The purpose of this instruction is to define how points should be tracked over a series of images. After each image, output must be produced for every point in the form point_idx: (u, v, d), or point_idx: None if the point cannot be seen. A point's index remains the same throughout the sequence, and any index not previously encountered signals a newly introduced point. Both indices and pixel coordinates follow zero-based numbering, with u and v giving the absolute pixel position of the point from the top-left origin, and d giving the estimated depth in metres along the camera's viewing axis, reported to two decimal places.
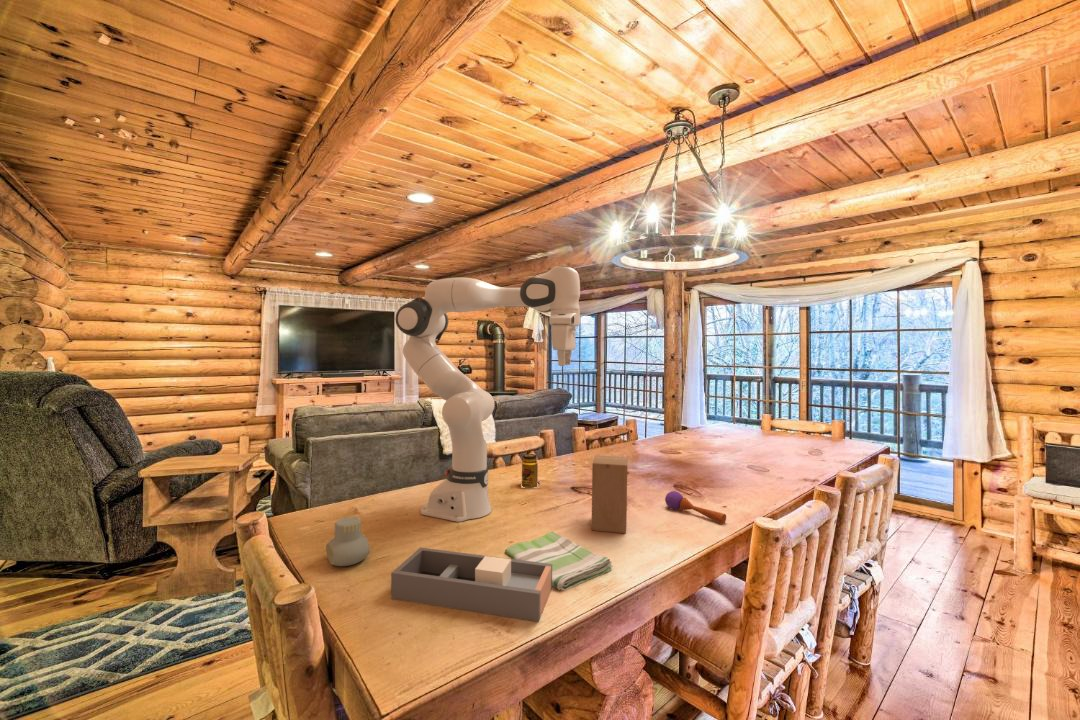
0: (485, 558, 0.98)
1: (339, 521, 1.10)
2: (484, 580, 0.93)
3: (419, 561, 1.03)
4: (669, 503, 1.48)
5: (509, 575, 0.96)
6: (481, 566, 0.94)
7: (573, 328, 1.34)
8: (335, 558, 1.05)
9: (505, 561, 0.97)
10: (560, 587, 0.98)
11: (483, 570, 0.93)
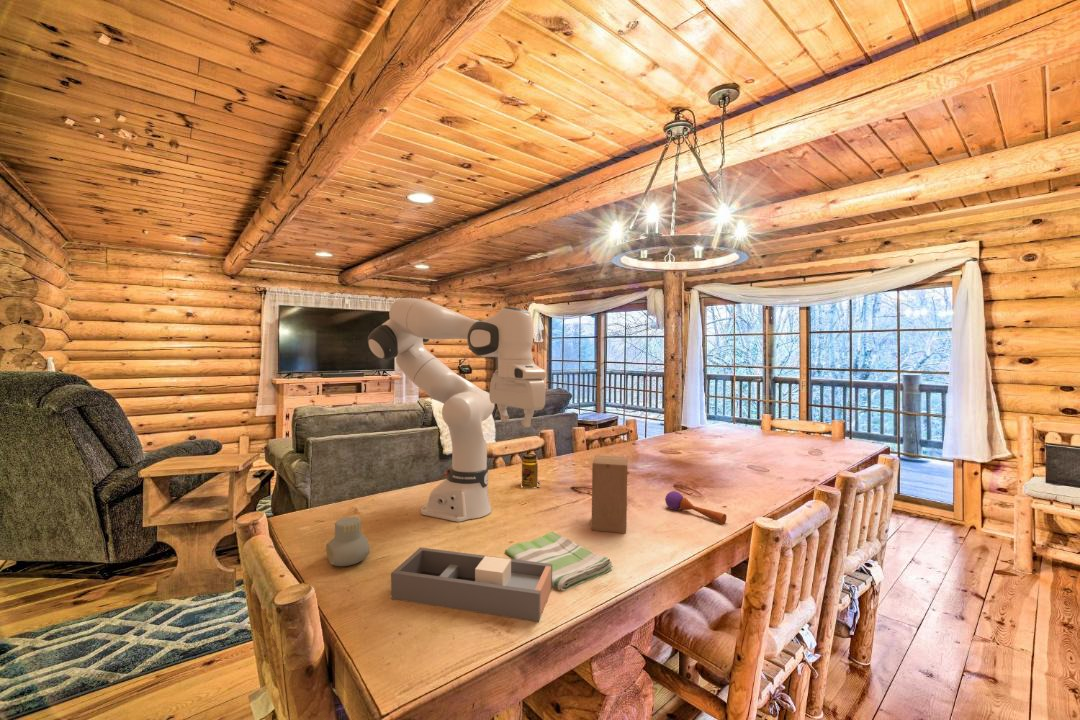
0: (485, 558, 0.98)
1: (339, 521, 1.10)
2: (484, 580, 0.93)
3: (419, 561, 1.03)
4: (669, 503, 1.48)
5: (509, 575, 0.96)
6: (481, 566, 0.94)
7: None
8: (335, 558, 1.05)
9: (505, 561, 0.97)
10: (560, 587, 0.98)
11: (483, 570, 0.93)
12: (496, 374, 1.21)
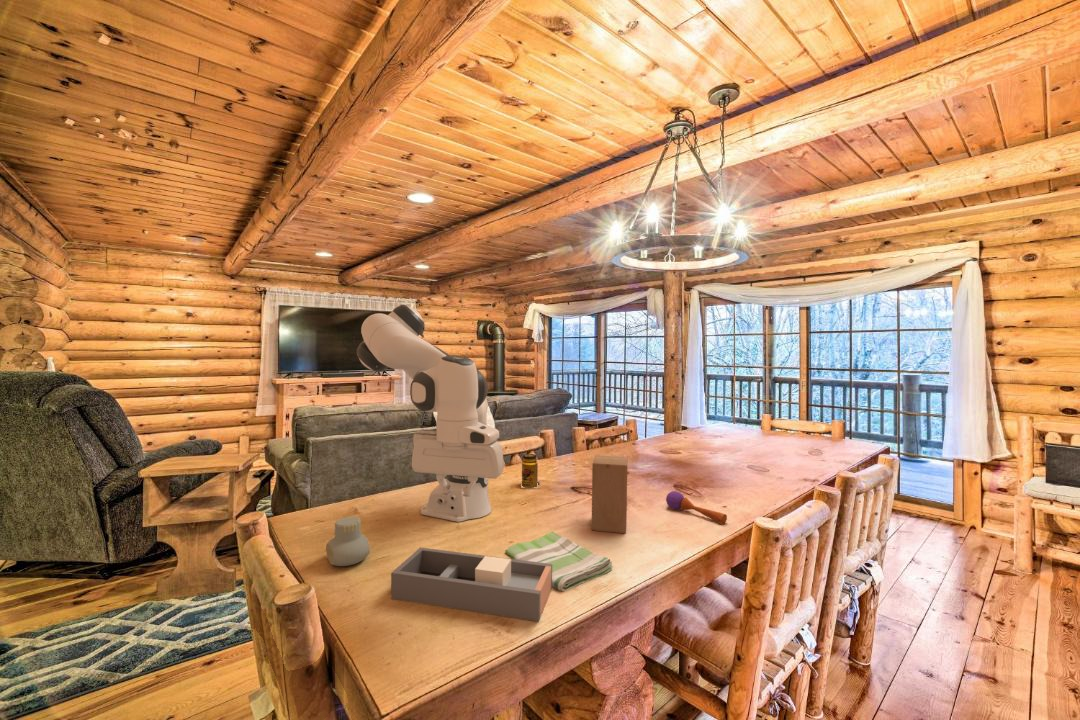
0: (485, 558, 0.98)
1: (339, 521, 1.10)
2: (484, 580, 0.93)
3: (419, 561, 1.03)
4: (670, 503, 1.48)
5: (509, 575, 0.96)
6: (481, 566, 0.94)
7: None
8: (335, 558, 1.05)
9: (505, 561, 0.97)
10: (561, 588, 0.98)
11: (483, 570, 0.93)
12: (420, 436, 0.98)
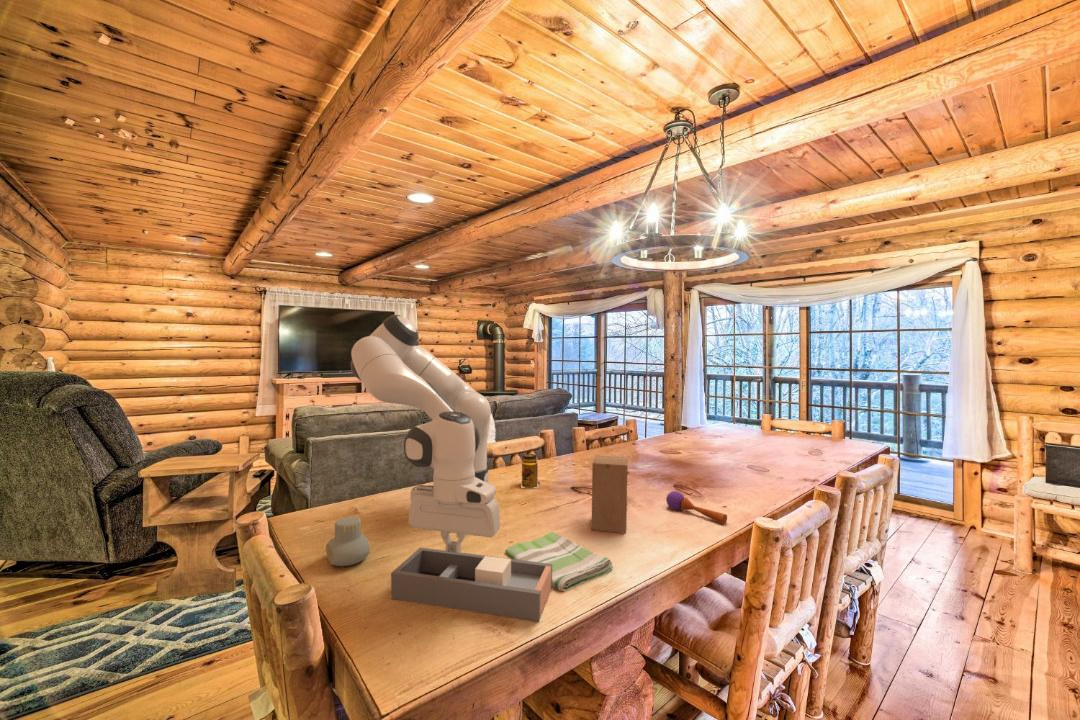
0: (485, 558, 0.98)
1: (339, 521, 1.10)
2: (484, 580, 0.93)
3: (419, 561, 1.03)
4: (670, 503, 1.48)
5: (509, 575, 0.96)
6: (481, 566, 0.94)
7: None
8: (335, 558, 1.05)
9: (505, 561, 0.97)
10: (561, 588, 0.98)
11: (483, 570, 0.93)
12: (418, 491, 0.98)
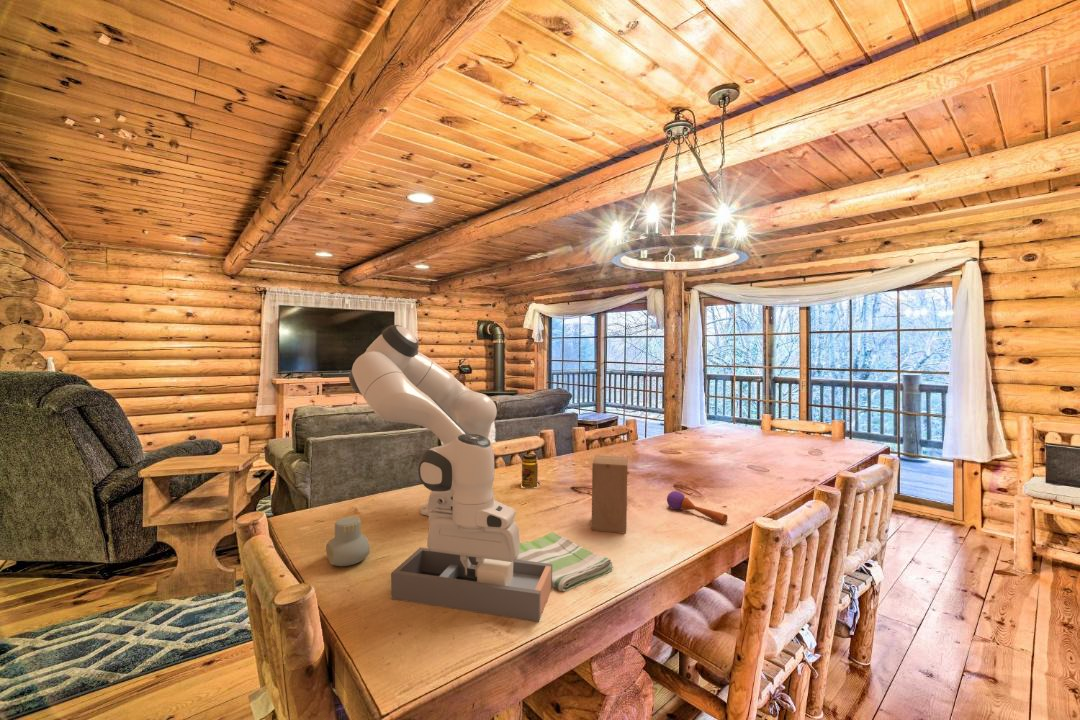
0: (487, 559, 0.97)
1: (339, 520, 1.10)
2: (486, 581, 0.92)
3: (419, 561, 1.03)
4: (670, 503, 1.48)
5: (511, 575, 0.96)
6: (483, 566, 0.94)
7: None
8: (335, 558, 1.05)
9: None
10: (561, 588, 0.98)
11: (485, 570, 0.92)
12: (436, 514, 0.97)
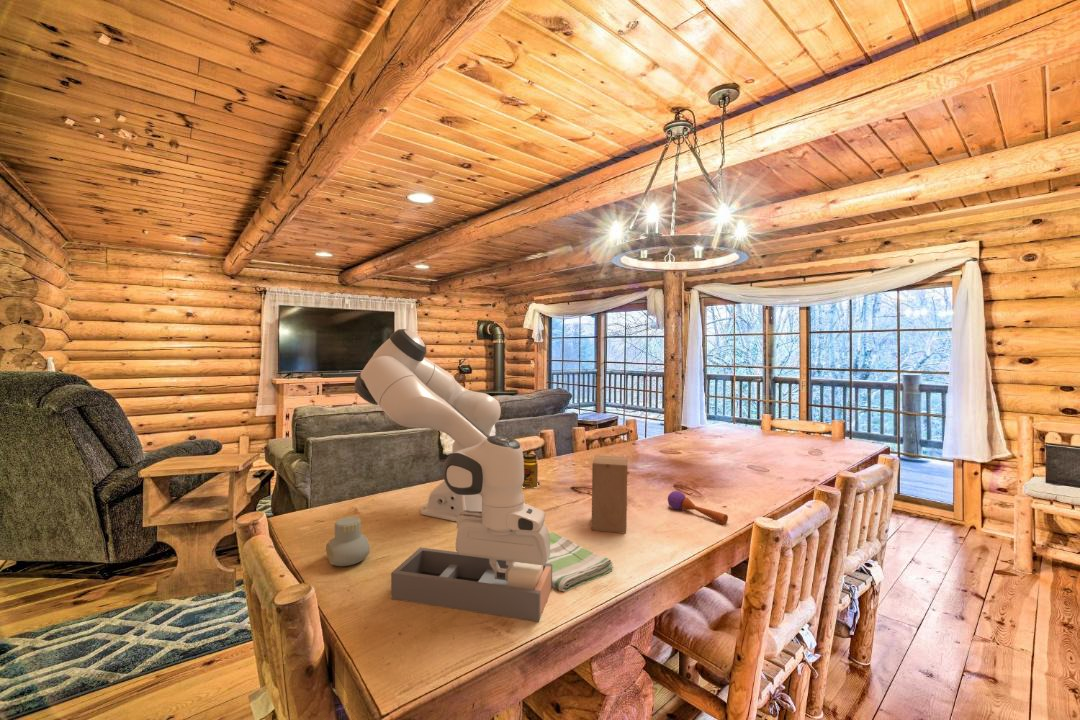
0: (516, 562, 0.96)
1: (339, 520, 1.10)
2: (517, 585, 0.91)
3: (419, 561, 1.03)
4: (671, 502, 1.48)
5: None
6: (513, 570, 0.93)
7: None
8: (335, 558, 1.05)
9: (537, 565, 0.95)
10: (561, 588, 0.97)
11: (516, 574, 0.91)
12: (464, 517, 0.96)
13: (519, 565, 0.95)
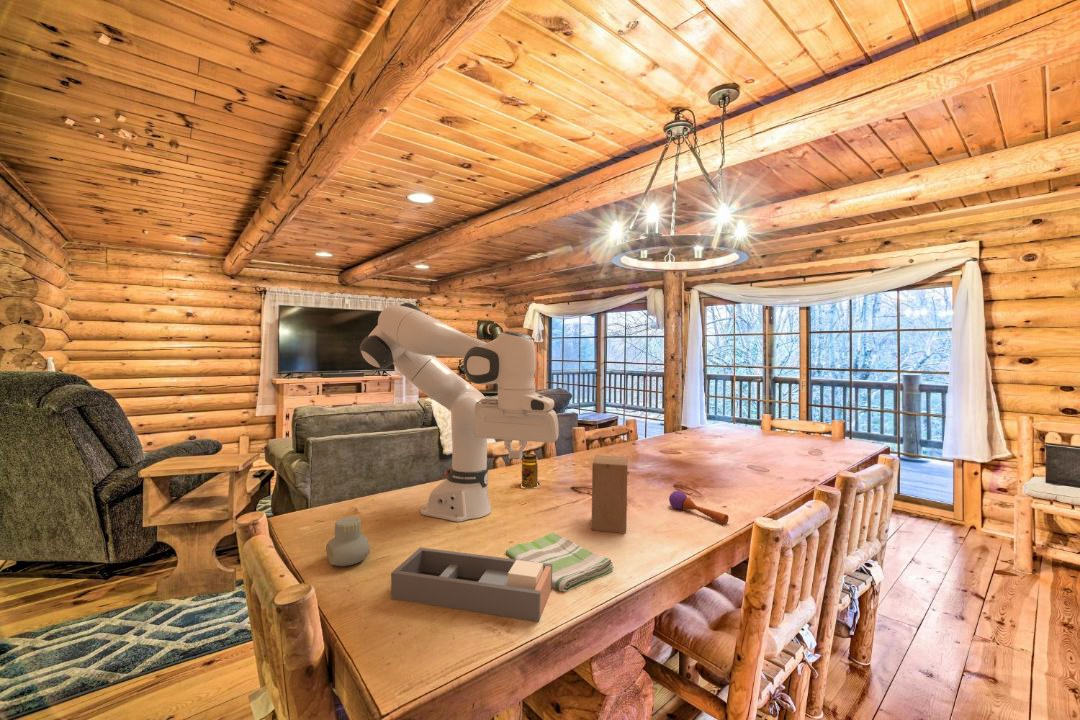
0: (517, 562, 0.96)
1: (339, 521, 1.10)
2: (517, 585, 0.91)
3: (419, 561, 1.03)
4: (672, 502, 1.48)
5: None
6: (513, 570, 0.93)
7: None
8: (335, 558, 1.05)
9: (538, 565, 0.95)
10: (562, 588, 0.97)
11: (516, 574, 0.91)
12: (482, 405, 1.07)
13: (519, 565, 0.95)
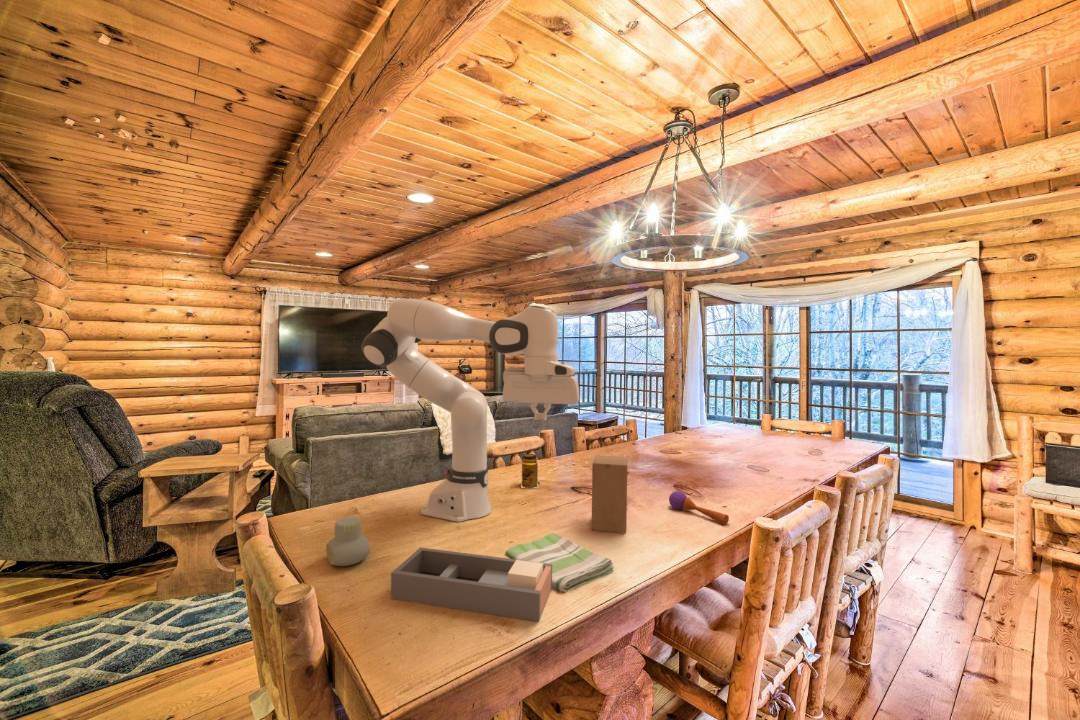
0: (517, 562, 0.96)
1: (339, 520, 1.10)
2: (517, 585, 0.91)
3: (419, 561, 1.03)
4: (672, 502, 1.48)
5: None
6: (513, 570, 0.93)
7: None
8: (335, 558, 1.05)
9: (538, 565, 0.95)
10: (562, 588, 0.97)
11: (516, 574, 0.91)
12: (509, 372, 1.19)
13: (519, 565, 0.95)
